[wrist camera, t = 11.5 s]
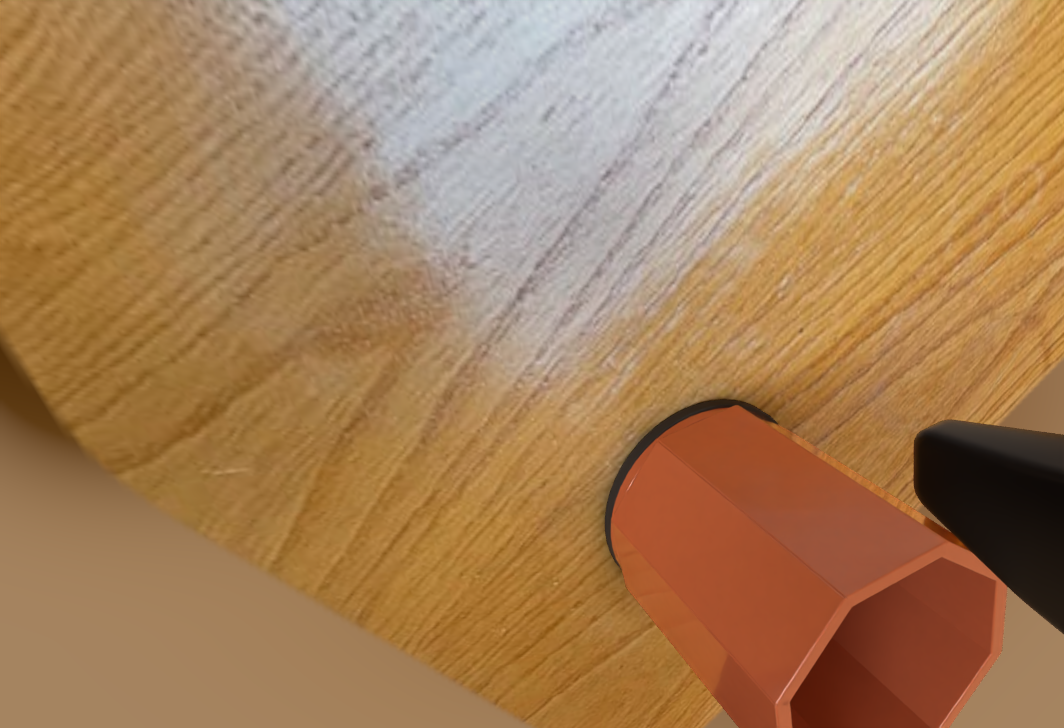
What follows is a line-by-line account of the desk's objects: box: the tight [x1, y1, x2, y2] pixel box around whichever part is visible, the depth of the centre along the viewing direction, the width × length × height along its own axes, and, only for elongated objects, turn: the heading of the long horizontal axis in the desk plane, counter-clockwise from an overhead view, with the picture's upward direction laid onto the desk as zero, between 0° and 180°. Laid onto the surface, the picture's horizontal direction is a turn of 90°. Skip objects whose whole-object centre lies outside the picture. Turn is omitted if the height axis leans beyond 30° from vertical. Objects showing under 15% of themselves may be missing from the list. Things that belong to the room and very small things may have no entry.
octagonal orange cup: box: [611, 405, 1007, 728], centre depth 21 cm, size 7×7×8 cm
